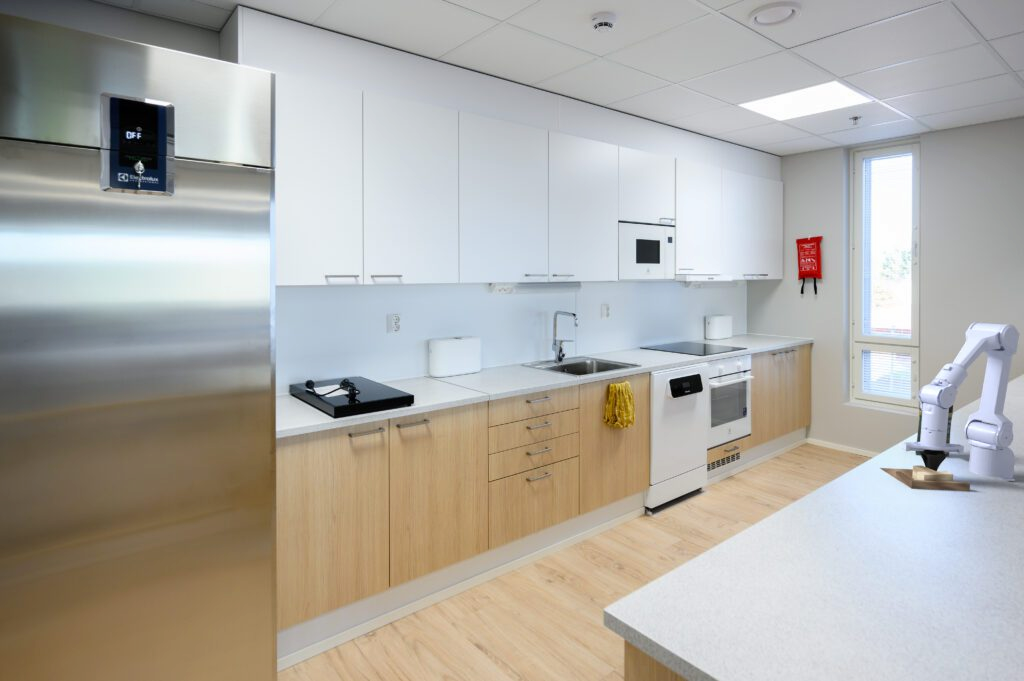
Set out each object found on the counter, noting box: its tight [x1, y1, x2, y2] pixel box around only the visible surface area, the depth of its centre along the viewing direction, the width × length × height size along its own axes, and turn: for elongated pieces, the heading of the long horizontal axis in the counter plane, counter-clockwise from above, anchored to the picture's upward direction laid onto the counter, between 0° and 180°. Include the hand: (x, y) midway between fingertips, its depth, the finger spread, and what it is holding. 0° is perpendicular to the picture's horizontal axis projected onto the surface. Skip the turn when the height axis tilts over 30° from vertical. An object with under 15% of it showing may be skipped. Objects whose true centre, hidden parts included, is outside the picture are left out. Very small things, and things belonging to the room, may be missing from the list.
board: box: [879, 467, 971, 492], centre depth 159 cm, size 14×17×3 cm
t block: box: [912, 465, 954, 482], centre depth 156 cm, size 8×8×4 cm
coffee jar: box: [915, 404, 954, 458], centre depth 182 cm, size 10×8×19 cm
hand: (930, 476), depth 158 cm, fingers closed
